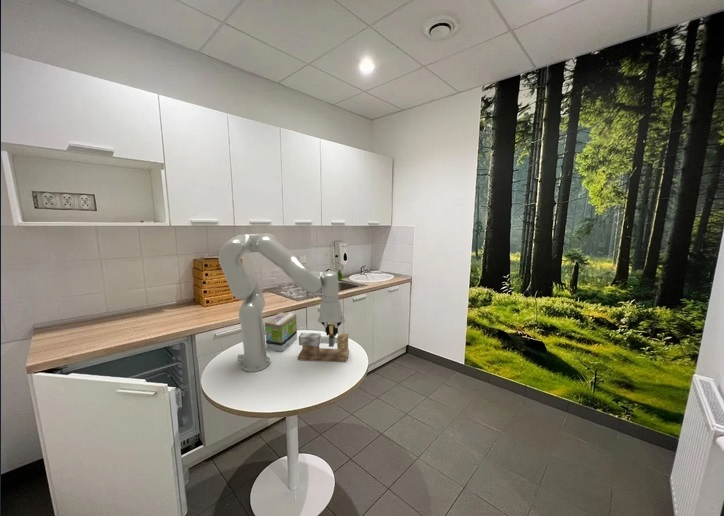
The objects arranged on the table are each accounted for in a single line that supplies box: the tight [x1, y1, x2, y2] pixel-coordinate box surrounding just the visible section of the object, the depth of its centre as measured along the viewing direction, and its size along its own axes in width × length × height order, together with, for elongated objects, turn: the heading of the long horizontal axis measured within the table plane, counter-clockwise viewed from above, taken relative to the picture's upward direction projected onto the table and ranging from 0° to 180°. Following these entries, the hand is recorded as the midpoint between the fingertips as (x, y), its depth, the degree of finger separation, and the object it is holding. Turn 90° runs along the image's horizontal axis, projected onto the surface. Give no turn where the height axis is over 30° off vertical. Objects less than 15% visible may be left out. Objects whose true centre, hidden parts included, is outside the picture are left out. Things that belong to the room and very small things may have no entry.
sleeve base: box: [297, 332, 350, 363], centre depth 144 cm, size 24×9×11 cm, turn 84°
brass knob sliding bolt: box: [319, 323, 337, 348], centre depth 142 cm, size 14×4×10 cm, turn 84°
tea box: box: [264, 311, 298, 353], centre depth 156 cm, size 15×10×15 cm
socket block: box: [336, 332, 350, 357], centre depth 143 cm, size 4×5×10 cm
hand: (331, 334), depth 142 cm, fingers closed on brass knob sliding bolt, 3 cm apart
